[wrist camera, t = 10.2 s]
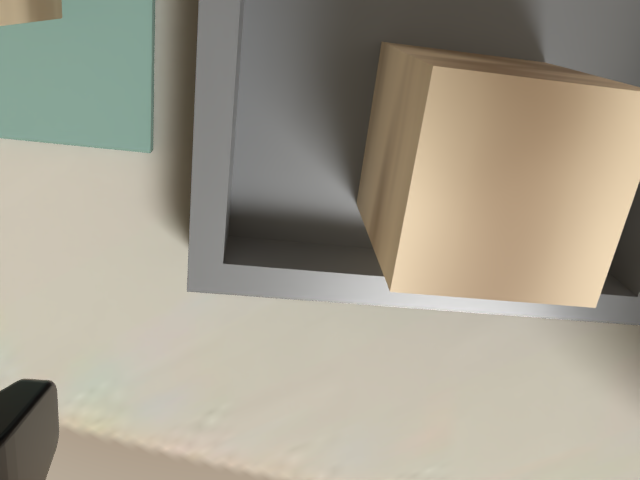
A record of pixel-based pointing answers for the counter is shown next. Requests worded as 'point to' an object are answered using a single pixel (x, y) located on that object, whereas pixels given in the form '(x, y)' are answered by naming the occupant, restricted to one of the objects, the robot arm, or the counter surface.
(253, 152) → the charcoal bin
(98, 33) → the green mat
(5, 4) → the labelled block
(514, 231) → the plain block
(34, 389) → the robot arm
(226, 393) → the counter surface
